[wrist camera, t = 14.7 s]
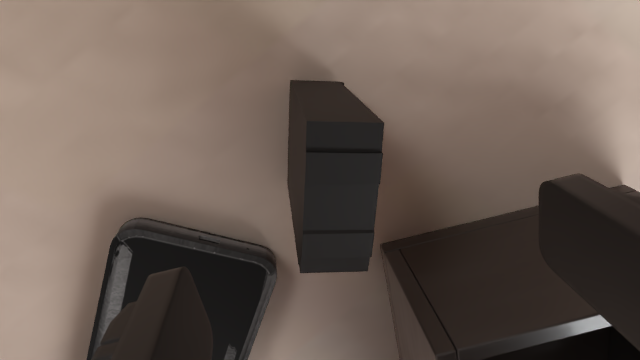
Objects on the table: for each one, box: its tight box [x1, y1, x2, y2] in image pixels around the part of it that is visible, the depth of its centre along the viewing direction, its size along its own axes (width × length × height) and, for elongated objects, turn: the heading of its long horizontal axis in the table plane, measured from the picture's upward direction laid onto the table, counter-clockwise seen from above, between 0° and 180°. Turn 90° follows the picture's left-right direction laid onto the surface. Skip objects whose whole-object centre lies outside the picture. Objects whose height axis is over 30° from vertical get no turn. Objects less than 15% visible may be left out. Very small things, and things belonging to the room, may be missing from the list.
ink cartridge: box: [288, 80, 384, 273], centre depth 16 cm, size 5×2×8 cm, turn 176°
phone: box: [87, 218, 277, 360], centre depth 22 cm, size 8×1×15 cm
